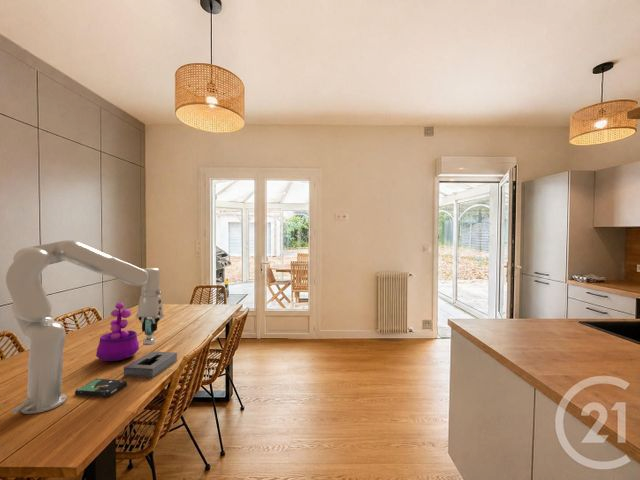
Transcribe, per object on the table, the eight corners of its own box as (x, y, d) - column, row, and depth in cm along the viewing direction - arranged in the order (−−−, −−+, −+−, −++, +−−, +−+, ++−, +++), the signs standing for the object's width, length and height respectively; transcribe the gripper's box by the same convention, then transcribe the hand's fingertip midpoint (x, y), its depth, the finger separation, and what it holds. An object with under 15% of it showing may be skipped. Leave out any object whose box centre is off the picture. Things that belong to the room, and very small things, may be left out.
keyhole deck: (152, 378, 132) (152, 368, 133) (123, 376, 133) (123, 367, 133) (176, 360, 152) (177, 352, 152) (151, 359, 153) (151, 351, 153)
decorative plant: (134, 349, 167) (136, 297, 167) (142, 358, 153) (144, 302, 154) (93, 357, 153) (95, 301, 154) (98, 369, 140) (100, 307, 141)
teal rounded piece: (150, 345, 138) (151, 320, 138) (140, 345, 138) (141, 320, 138) (157, 341, 143) (157, 318, 143) (147, 341, 143) (148, 317, 143)
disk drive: (127, 386, 125) (95, 384, 127) (127, 380, 125) (96, 377, 127) (108, 399, 115) (73, 396, 116) (108, 392, 115) (74, 389, 116)
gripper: (171, 292, 144) (170, 329, 143) (139, 291, 145) (138, 327, 145) (162, 295, 136) (161, 334, 136) (128, 294, 137) (127, 332, 137)
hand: (149, 330), depth 140 cm, fingers closed on teal rounded piece, 4 cm apart
